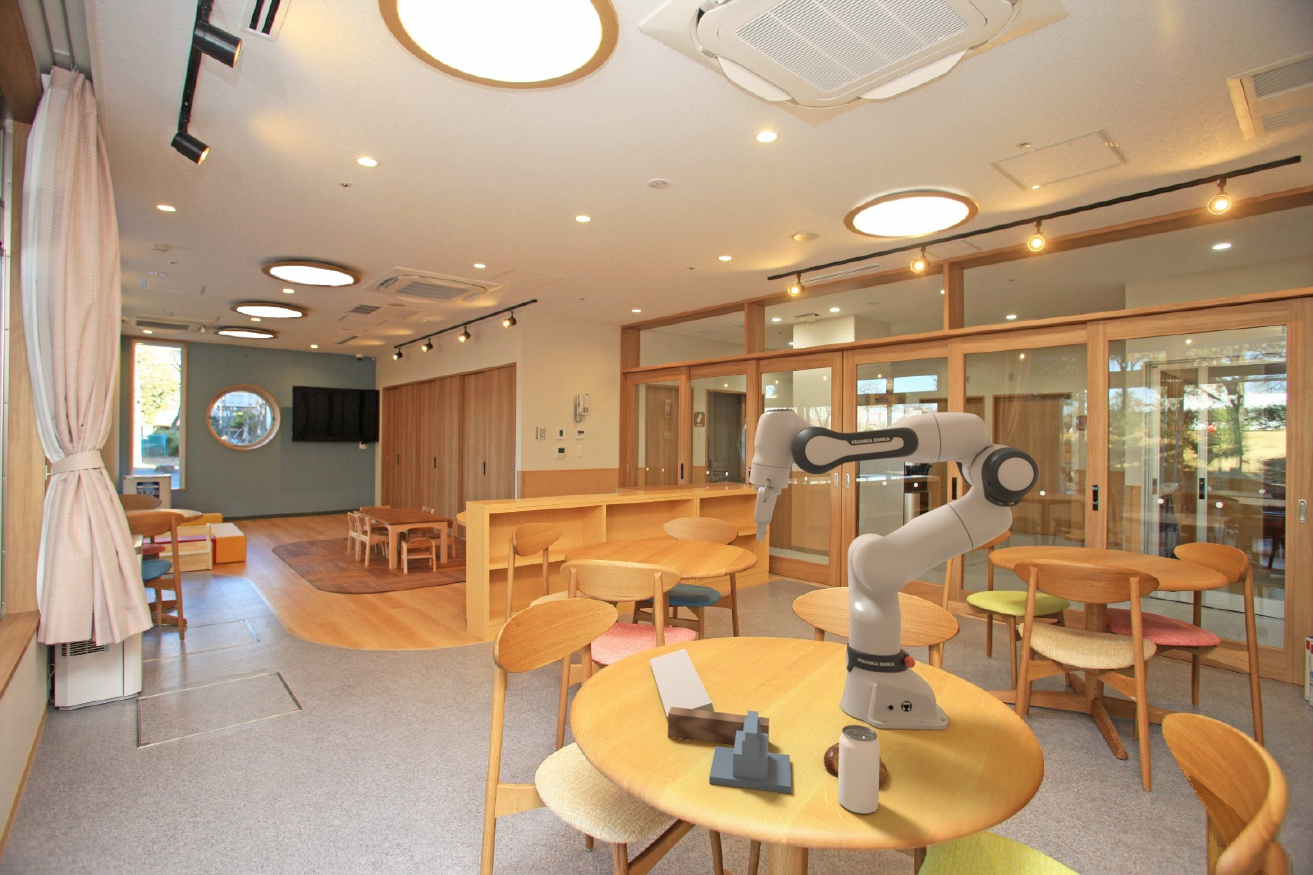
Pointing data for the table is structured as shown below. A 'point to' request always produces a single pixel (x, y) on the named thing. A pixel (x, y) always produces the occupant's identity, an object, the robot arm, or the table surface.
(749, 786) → the gray stepped block
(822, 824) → the table surface
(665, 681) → the beige long block
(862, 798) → the can
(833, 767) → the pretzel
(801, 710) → the table surface
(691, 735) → the walnut bar
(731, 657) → the table surface
